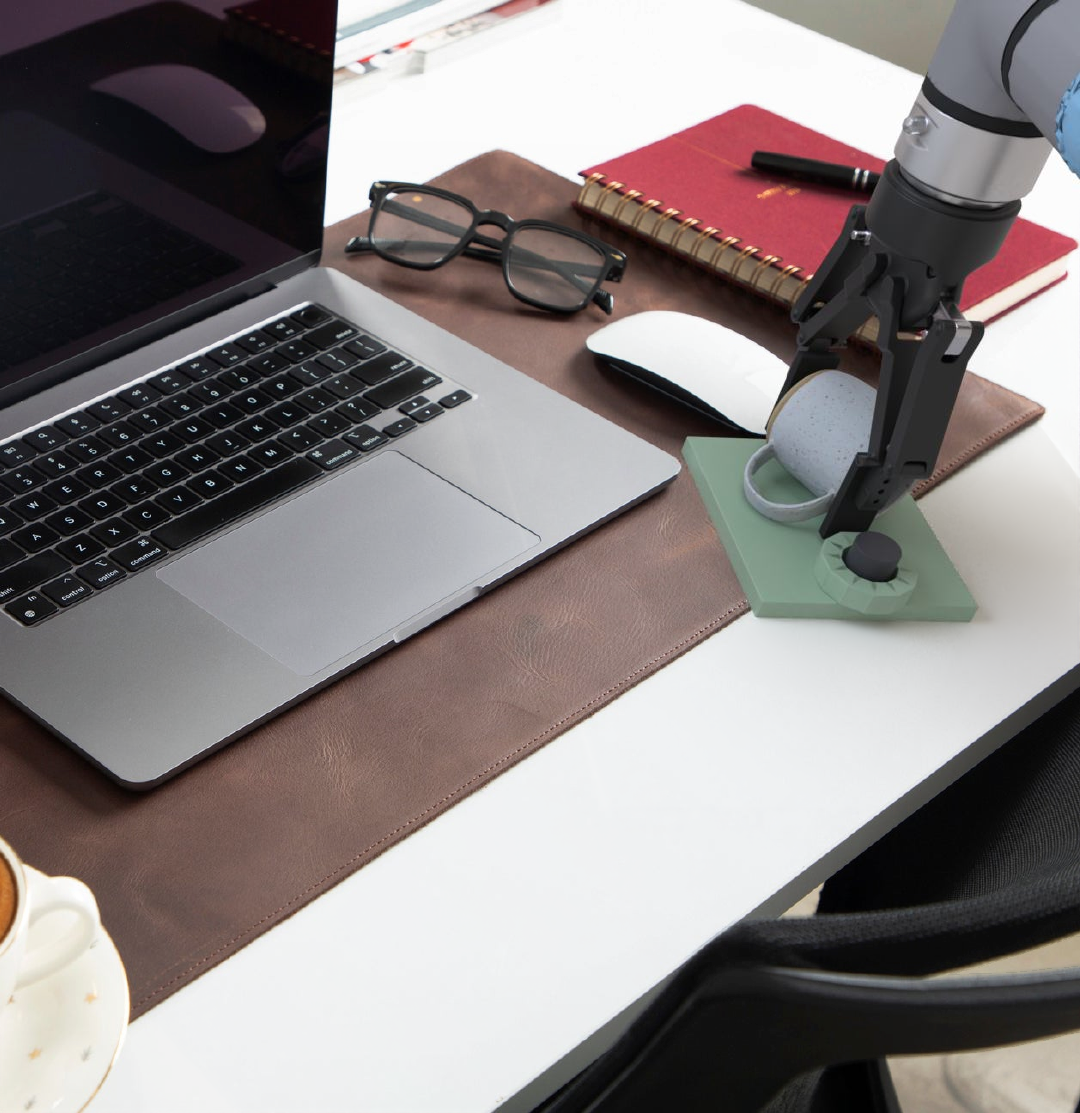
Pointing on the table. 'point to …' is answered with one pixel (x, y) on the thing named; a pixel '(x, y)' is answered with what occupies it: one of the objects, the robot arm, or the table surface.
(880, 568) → the button
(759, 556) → the scale
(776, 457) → the ceramic mug
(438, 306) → the table surface
